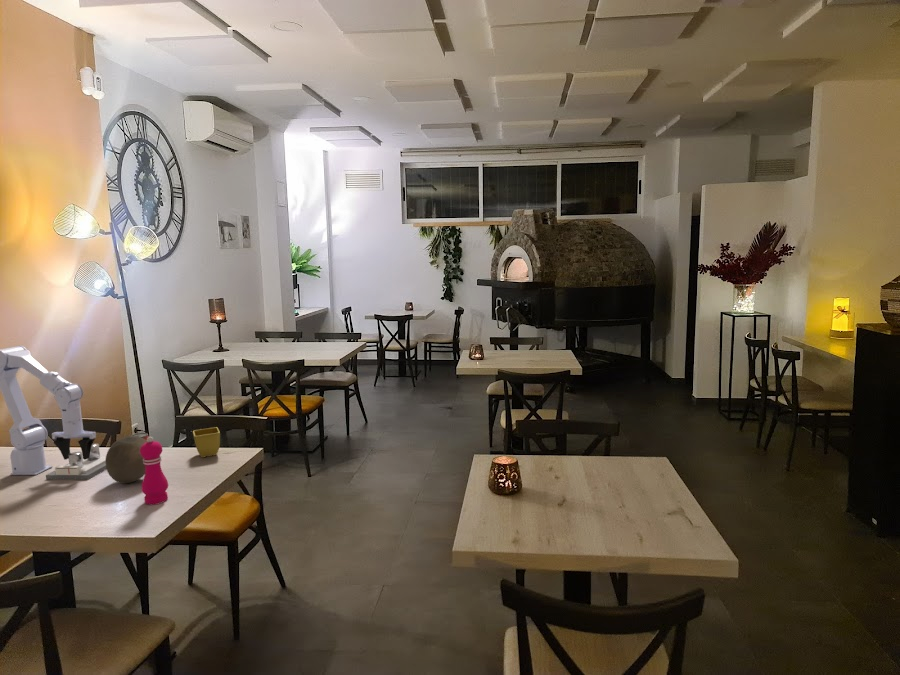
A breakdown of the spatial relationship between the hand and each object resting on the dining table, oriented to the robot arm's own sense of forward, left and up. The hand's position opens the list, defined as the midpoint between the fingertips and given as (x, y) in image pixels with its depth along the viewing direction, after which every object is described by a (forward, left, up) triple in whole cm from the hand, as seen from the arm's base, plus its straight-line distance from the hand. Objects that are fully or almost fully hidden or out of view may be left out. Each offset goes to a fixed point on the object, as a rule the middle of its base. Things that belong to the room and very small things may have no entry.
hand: (76, 458), depth 204 cm
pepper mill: (+41, -22, -6) cm, 47 cm away
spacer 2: (0, +8, -3) cm, 9 cm away
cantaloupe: (+24, -7, -6) cm, 26 cm away
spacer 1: (0, -1, -3) cm, 3 cm away
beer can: (+20, +5, -6) cm, 21 cm away
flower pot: (+37, +19, -6) cm, 42 cm away
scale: (0, +3, -5) cm, 6 cm away
